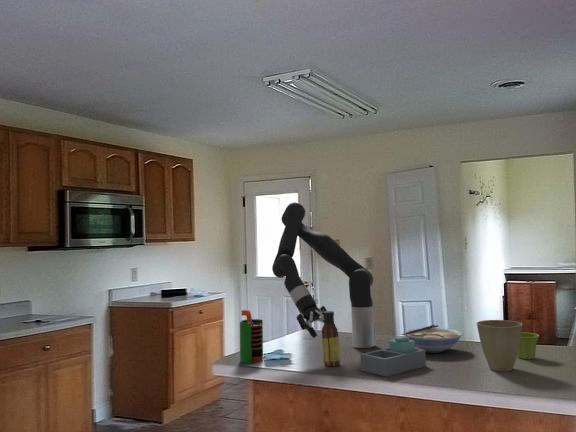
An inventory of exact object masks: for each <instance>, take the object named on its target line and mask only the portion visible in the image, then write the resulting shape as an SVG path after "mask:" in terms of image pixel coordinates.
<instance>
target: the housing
mask: <svg viewBox="0 0 576 432" xmlns="http://www.w3.org/2000/svg"><path fill="white" fill-rule="evenodd" d="M359 357H360V371H362V372H366V373H370V374H372V375H373V374H375V375H378V376H382V377H390V376H394V375H397V374H402V373H404V372H408V371H413V370H417V369H421V368H424V367H426V366H427V364H426V362H427V361H426V357H427V356H426V352H425V350H423V349H419V348H417V347H415V352H411V353H406V354H403V353H398V352H393V351H390V348H389V347H386V348H382V349H377V350H374V351H368V352H363V353H360V356H359Z"/></svg>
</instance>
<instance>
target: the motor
mask: <svg viewBox="0 0 576 432" xmlns="http://www.w3.org/2000/svg"><path fill="white" fill-rule="evenodd" d="M241 316H245V317H246V319H242V320H240V321H239V361H240V363H242V364H245V365H247V364H248V365H252V364H258V363H262V362H263V360H264V334H263V333H264V332H263V329H264V327H263V325H264V324H263V323H264V322H263V319H262V318H261V319H260V318H259V319H258V318H253V317H252V313H251V311H250V310H249V309H242V310H241Z"/></svg>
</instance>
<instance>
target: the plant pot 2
mask: <svg viewBox="0 0 576 432" xmlns="http://www.w3.org/2000/svg"><path fill="white" fill-rule="evenodd" d="M539 337H540V335H539V334H537V333H533V332H524V331H523V332H521V339H520V345H519V350H518V354H517V357H516V358H518V359H519V358H520V359H521V360H531V359H536V351H537V343H538V340H539Z"/></svg>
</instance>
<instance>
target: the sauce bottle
mask: <svg viewBox="0 0 576 432" xmlns="http://www.w3.org/2000/svg"><path fill="white" fill-rule="evenodd" d="M323 316H324V319H323V320H324V323H323V325H322V328H321V342H322V354H323V355H322V357H323V363H324V365H325V366H328V367H336V366H339V365H341V353H340V352H341V351H340V340H339V331H338V330H339V329H338V328H337V326H336V324H335V318H334V317H335V312H334V310H327V311H324V312H323Z"/></svg>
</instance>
